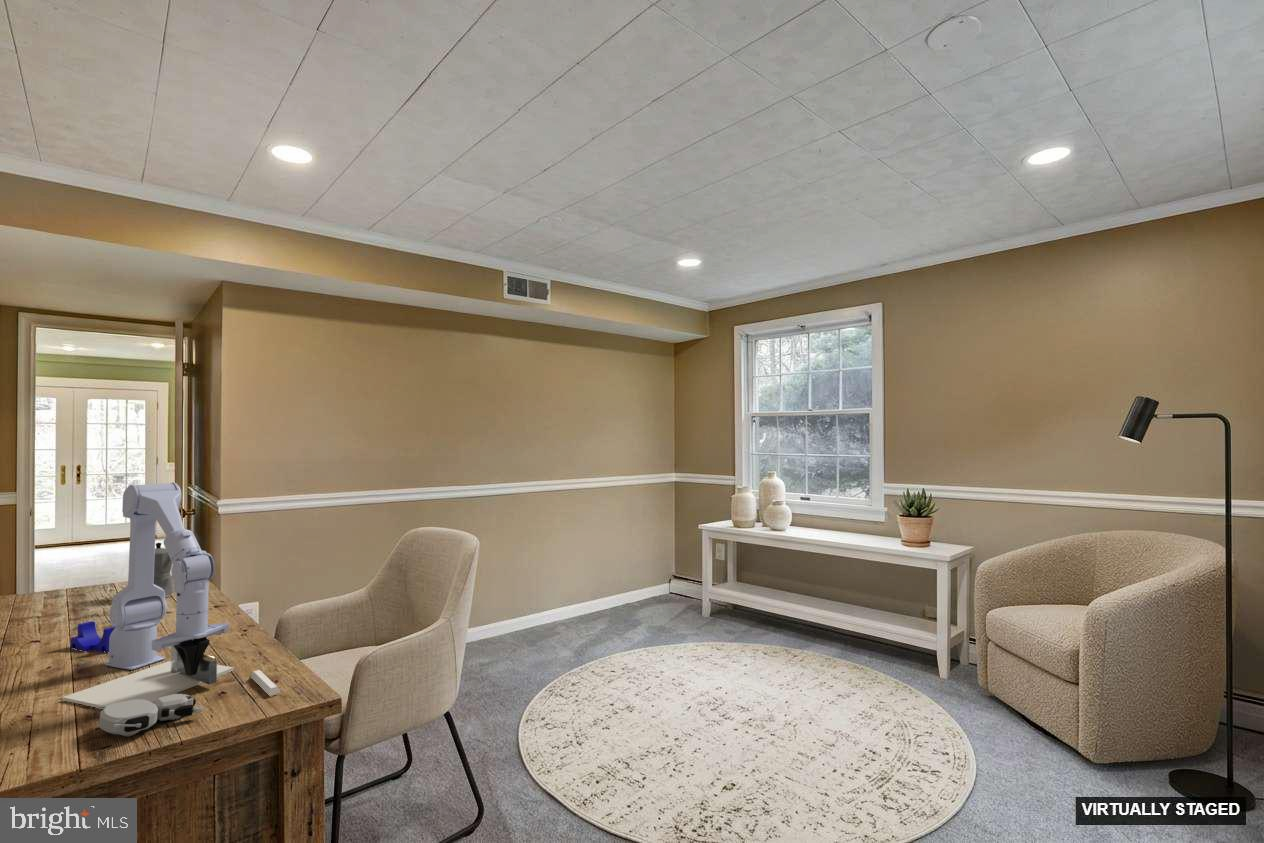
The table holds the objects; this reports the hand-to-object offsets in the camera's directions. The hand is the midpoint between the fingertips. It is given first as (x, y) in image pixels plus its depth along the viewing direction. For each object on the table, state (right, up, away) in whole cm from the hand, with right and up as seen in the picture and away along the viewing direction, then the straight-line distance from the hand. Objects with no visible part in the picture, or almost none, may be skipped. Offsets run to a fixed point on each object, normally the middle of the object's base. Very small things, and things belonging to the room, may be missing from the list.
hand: (191, 674), depth 138 cm
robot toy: (+4, -3, -17) cm, 18 cm away
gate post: (-8, -3, +8) cm, 12 cm away
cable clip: (-41, -4, +24) cm, 48 cm away
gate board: (-9, -3, +2) cm, 10 cm away
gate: (-1, -2, +3) cm, 4 cm away
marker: (+15, -4, +2) cm, 15 cm away
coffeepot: (-63, -4, +75) cm, 98 cm away
